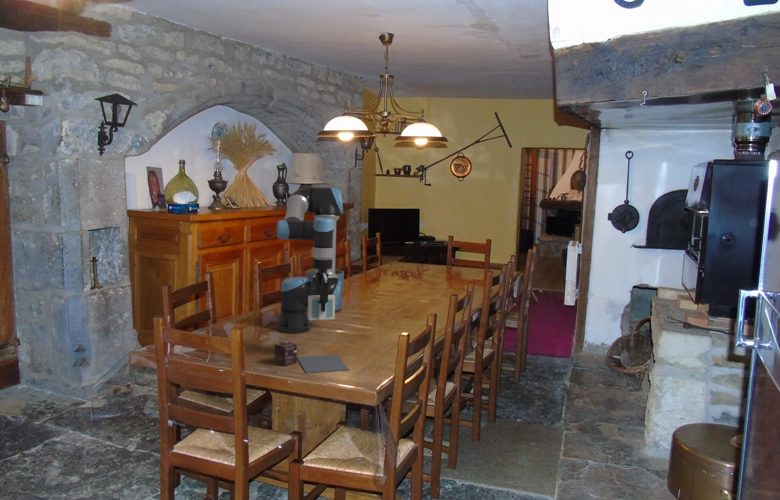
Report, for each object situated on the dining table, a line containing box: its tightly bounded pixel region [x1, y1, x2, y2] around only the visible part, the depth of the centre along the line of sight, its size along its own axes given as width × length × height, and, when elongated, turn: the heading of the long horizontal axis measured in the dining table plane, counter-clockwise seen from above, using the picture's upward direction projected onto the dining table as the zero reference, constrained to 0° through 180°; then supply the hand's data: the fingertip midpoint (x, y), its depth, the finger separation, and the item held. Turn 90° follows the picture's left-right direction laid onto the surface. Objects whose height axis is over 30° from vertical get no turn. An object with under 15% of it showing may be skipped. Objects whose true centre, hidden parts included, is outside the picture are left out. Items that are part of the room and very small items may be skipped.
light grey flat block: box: [307, 295, 336, 321], centre depth 239 cm, size 3×10×9 cm, turn 109°
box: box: [274, 341, 298, 367], centre depth 232 cm, size 6×6×7 cm
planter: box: [306, 268, 345, 312], centre depth 318 cm, size 19×19×20 cm
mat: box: [297, 354, 350, 374], centre depth 233 cm, size 18×16×1 cm
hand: (321, 318), depth 240 cm, fingers closed on light grey flat block, 3 cm apart
